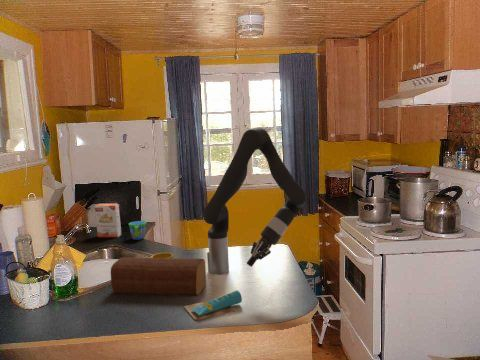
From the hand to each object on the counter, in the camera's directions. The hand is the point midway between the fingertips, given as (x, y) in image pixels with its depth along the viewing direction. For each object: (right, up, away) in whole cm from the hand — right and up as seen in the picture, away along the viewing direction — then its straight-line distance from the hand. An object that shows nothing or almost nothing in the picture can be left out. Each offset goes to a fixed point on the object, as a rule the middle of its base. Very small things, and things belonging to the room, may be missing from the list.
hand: (248, 265), depth 182 cm
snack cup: (-67, -3, +102) cm, 122 cm away
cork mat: (-16, -16, -6) cm, 23 cm away
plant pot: (-40, -11, +34) cm, 53 cm away
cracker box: (-88, -2, +111) cm, 142 cm away
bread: (-39, -14, +17) cm, 45 cm away
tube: (-4, -11, -3) cm, 12 cm away
